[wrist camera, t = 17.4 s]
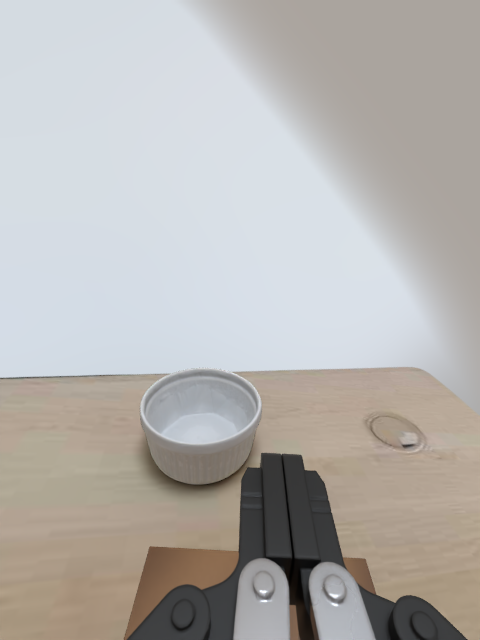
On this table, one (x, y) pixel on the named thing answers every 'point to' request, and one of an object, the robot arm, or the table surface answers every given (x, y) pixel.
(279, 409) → the table surface
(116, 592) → the table surface
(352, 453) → the table surface
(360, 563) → the carton
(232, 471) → the ramekin
